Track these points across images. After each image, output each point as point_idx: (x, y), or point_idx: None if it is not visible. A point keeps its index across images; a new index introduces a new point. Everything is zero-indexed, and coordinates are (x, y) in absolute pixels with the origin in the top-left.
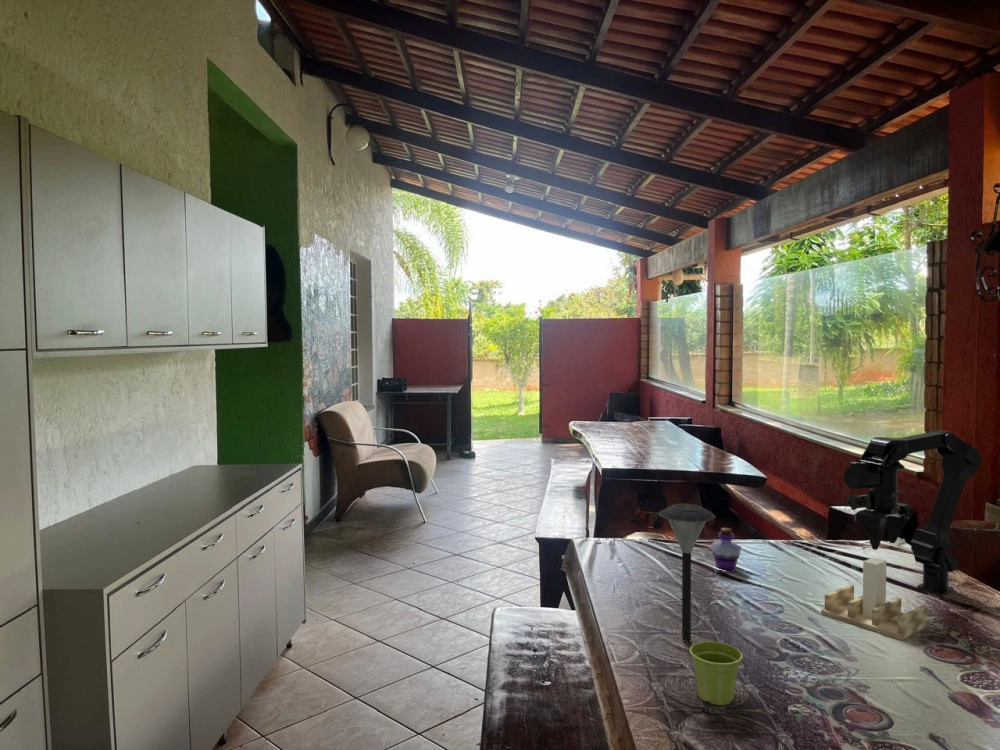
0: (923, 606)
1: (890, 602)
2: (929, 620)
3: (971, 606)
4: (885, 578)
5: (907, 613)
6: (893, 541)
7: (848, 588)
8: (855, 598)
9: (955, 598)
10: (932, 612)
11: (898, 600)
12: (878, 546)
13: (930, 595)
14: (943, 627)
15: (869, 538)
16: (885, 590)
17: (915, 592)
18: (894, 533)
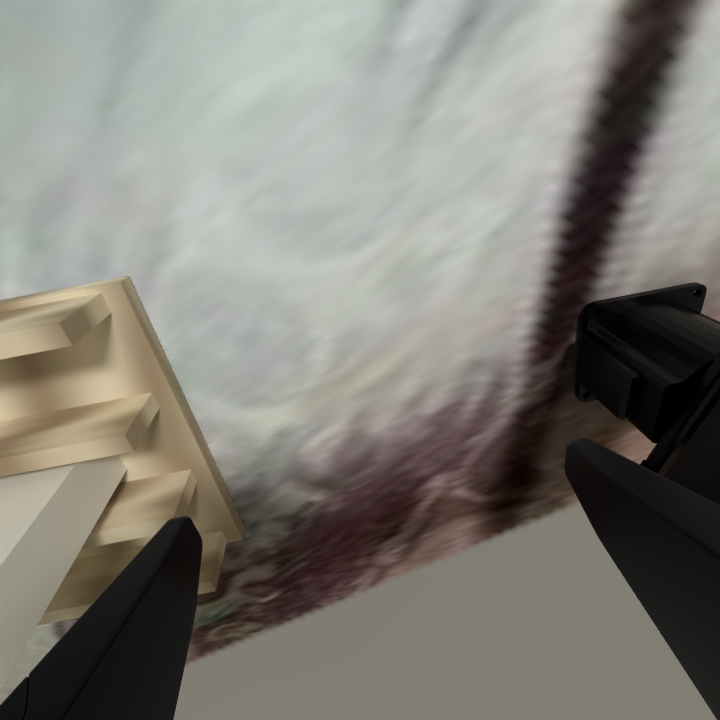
0: (200, 589)
1: (96, 539)
2: (241, 539)
3: (526, 486)
4: (27, 628)
5: (78, 609)
6: (578, 485)
7: (6, 357)
8: (128, 309)
9: (569, 429)
10: (355, 476)
11: (155, 533)
12: (191, 590)
13: (530, 378)
14: (267, 547)
15: (61, 647)
16: (69, 560)
17: (518, 333)
18: (647, 579)
